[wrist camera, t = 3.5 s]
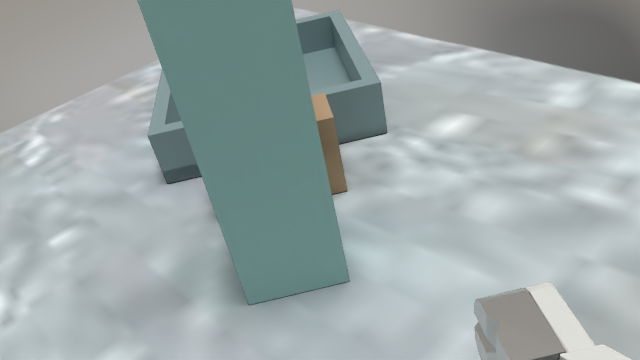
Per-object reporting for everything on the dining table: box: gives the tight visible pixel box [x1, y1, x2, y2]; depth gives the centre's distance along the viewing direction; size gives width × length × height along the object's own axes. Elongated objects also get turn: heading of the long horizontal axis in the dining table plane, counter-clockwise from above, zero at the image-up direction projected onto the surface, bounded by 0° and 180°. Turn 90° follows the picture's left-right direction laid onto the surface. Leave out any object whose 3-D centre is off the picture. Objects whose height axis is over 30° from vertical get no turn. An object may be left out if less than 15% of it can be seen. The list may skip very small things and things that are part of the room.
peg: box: [137, 0, 350, 305], centre depth 20 cm, size 4×4×12 cm
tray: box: [148, 10, 387, 184], centre depth 34 cm, size 12×12×3 cm
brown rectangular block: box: [311, 93, 347, 194], centre depth 26 cm, size 6×2×4 cm, turn 99°
